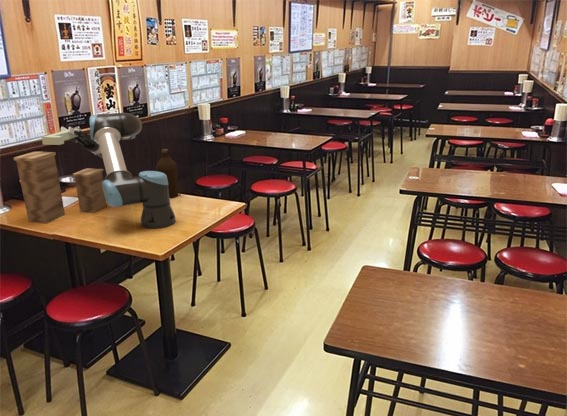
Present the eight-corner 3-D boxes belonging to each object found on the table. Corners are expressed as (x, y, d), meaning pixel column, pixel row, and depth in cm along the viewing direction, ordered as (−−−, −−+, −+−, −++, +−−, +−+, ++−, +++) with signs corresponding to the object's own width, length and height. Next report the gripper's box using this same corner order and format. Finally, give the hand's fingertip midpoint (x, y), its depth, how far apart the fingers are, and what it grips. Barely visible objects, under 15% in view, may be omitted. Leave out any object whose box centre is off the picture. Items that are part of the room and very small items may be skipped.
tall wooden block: (66, 214, 219) (55, 152, 209) (48, 223, 207) (35, 158, 197) (46, 212, 221) (34, 151, 212) (26, 222, 209) (13, 157, 200)
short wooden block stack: (108, 205, 230) (103, 168, 224) (95, 213, 220) (89, 174, 214) (92, 204, 232) (86, 168, 226) (78, 212, 222) (72, 173, 215)
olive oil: (176, 191, 251) (172, 146, 243) (181, 197, 242) (177, 150, 234) (157, 194, 247) (152, 148, 239) (161, 200, 238) (156, 152, 230)
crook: (75, 135, 230) (74, 128, 229) (90, 135, 229) (89, 128, 228) (42, 144, 208) (41, 136, 207) (59, 144, 206) (58, 137, 205)
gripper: (106, 152, 240) (79, 137, 218) (78, 151, 243) (48, 136, 221) (108, 138, 242) (82, 122, 219) (80, 138, 245) (51, 121, 222)
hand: (65, 129), depth 220 cm, fingers closed on crook, 3 cm apart
